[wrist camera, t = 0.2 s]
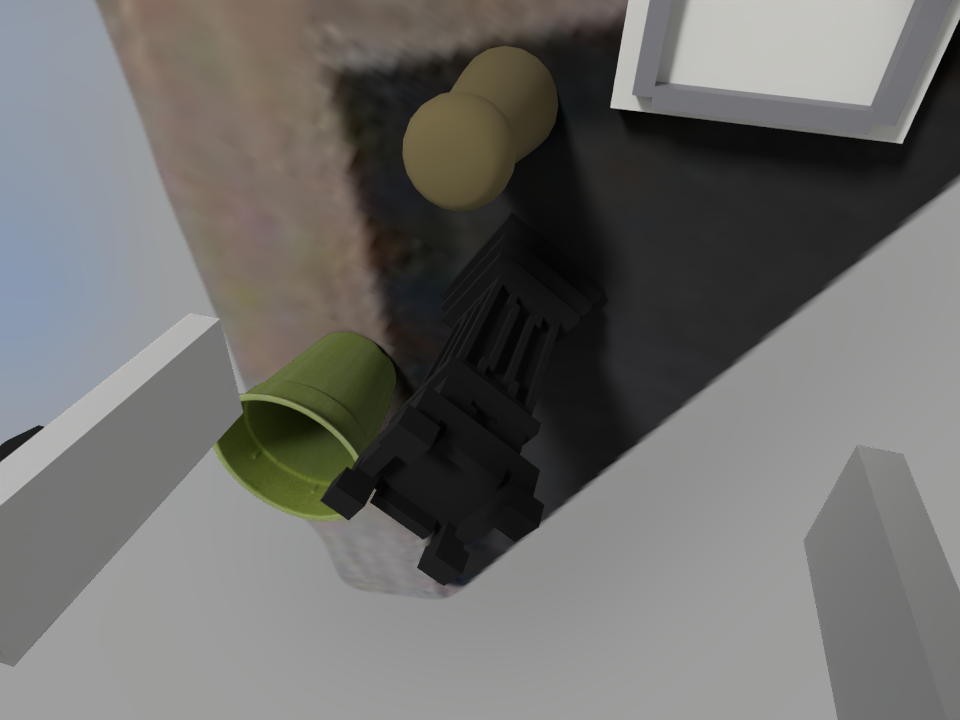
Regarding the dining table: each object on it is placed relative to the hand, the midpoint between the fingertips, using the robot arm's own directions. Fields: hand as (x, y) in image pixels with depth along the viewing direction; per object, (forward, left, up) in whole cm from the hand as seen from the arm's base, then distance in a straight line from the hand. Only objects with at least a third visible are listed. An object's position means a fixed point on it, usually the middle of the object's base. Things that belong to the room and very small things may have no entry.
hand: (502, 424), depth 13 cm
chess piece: (+12, -4, -27) cm, 30 cm away
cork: (0, -6, -27) cm, 28 cm away
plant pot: (+22, -17, -27) cm, 39 cm away
